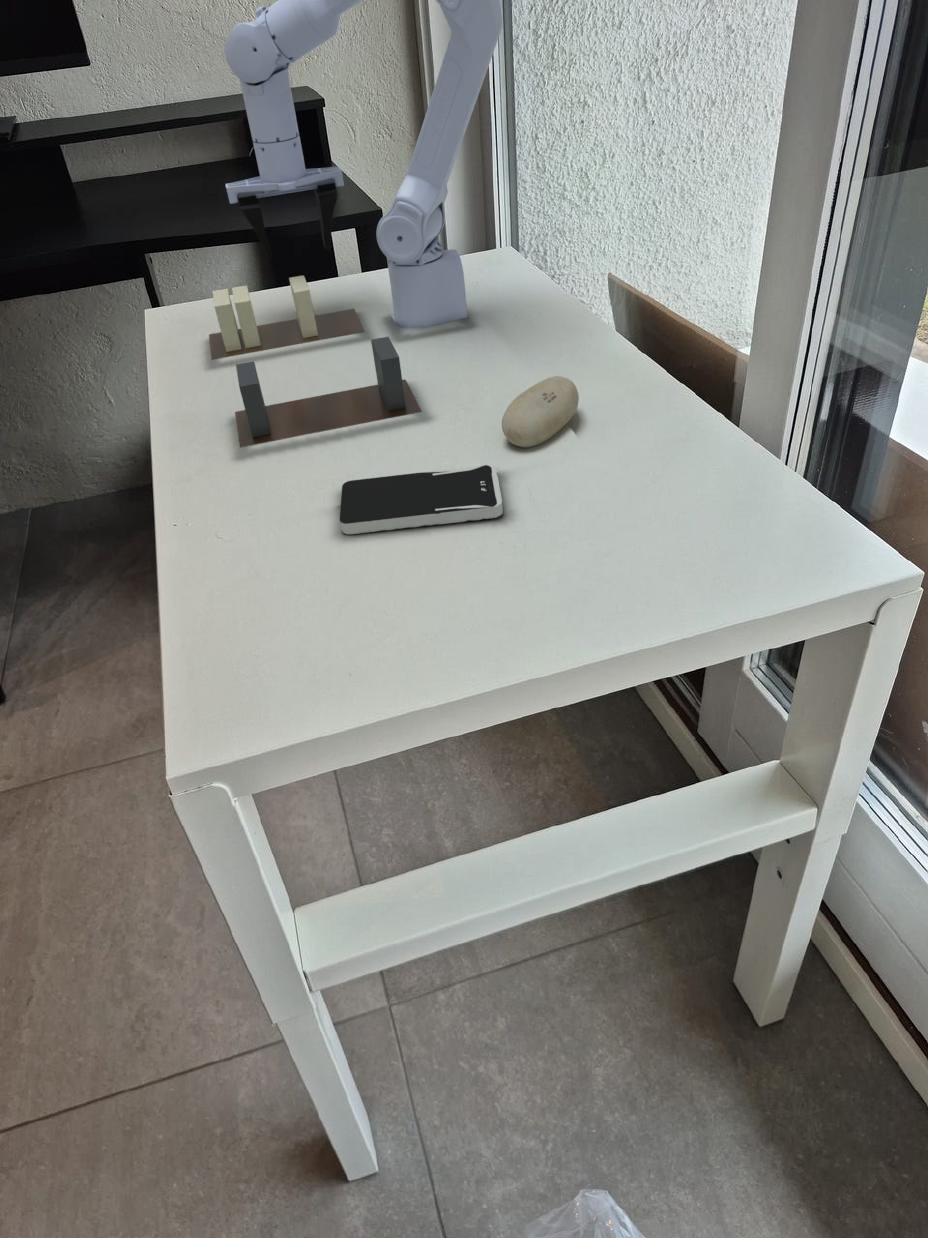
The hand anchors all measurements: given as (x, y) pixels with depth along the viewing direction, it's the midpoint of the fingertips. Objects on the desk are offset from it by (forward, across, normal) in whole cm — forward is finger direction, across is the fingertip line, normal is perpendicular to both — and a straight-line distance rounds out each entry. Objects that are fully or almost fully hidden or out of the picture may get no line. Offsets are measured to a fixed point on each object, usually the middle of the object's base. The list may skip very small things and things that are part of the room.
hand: (298, 251), depth 119 cm
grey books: (+8, -2, -30) cm, 32 cm away
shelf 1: (+9, -4, -5) cm, 11 cm away
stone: (+10, +19, -43) cm, 48 cm away
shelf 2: (+9, -2, -30) cm, 32 cm away
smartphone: (+10, +4, -52) cm, 53 cm away
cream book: (+8, -1, -5) cm, 10 cm away
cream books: (+8, -10, -5) cm, 14 cm away
